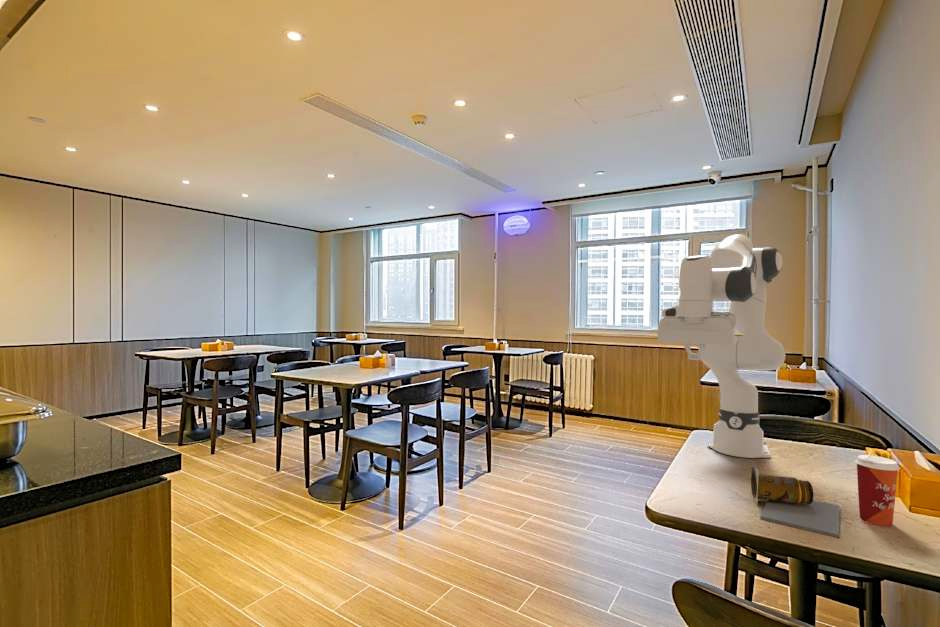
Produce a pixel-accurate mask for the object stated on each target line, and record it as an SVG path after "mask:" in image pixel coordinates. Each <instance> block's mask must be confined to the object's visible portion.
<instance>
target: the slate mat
mask: <svg viewBox="0 0 940 627" xmlns="http://www.w3.org/2000/svg"><path fill="white" fill-rule="evenodd" d="M840 510H841V506H840V505H839V504H835V503H829V502H823V501H819V500H814V499H813V502H812V503H811V504H806V503H799V504H791V503H784V502H775V501H766V502H765V504H764V507H763V510H762V511H761V515H760V520H764V521H768V522H772V523H775V524H776V523H777V524H781V525H785V526H790V527H793V528H797V529H800V530H801V529H802V530H806V531H810V532H815V533H818V534H822V535H827V536H830V537H835V538H839V537H840Z"/></svg>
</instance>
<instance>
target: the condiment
mask: <svg viewBox="0 0 940 627" xmlns="http://www.w3.org/2000/svg"><path fill="white" fill-rule="evenodd" d="M750 470H751V475H750V495H751V498H752V499H753V501H754V502H755V504H756V505H757V506H759V504H758V500H759V501H761V500H762V501H765V502H767V501H775V502H784V503H791V504H799V503H806V504H811V503H812V502H813V500H814V489H813V484H812V483H811V482H810V481H808V480H802V479H797V478H795V477H789V476H779V475H770V474H760V473H759V470H758V469H757V467H756V465H755V464H754V462H753V461H751V469H750Z"/></svg>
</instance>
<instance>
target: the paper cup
mask: <svg viewBox="0 0 940 627" xmlns="http://www.w3.org/2000/svg"><path fill="white" fill-rule="evenodd" d="M854 463H855V464H856V471H857V472H856V474H857V494H858V495H857V496H858V510H859V511H858V512H859V518H861V519H862V520H861V519H860V520H861V521H863V520H864V521H863V522H865V521H866V522H865V523H867V522H868V523H867V524H870V523H871V524H870V525H873V524H874V525H873V526H877V525H879V526H878V527H883V526H890V527H891V525H892V526H893V523H894V514H895V512H894V511H895V502H896V493H897V492H896V491H897V482H898V471H900V469H901V468H900V467H899V465H898V462H897V461H896V460H894V459H891V458H888V457H883V456H879V455H878V456H877V455H871V454H860V455H857V458H856V459H855V461H854Z"/></svg>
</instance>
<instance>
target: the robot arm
mask: <svg viewBox="0 0 940 627" xmlns="http://www.w3.org/2000/svg"><path fill="white" fill-rule="evenodd" d="M782 266H783V257H782V254H781V253H780V250H778V249H777V248H776V247H772V246H771V247H770V246H764V247H755V248H754V244H753V241H752V240H751V239H750V238H749V237H748V236H746V235H744V234H740V233H737V234H733V235H729V236H727V237H725V238H724V239H722V240H721V241H719V243H718V244H717V245H716V246H715V247H714V248H713V250H712V251H711V253H710V256H709V255H706V254H705V255H691V256H686V257H684V258H683V259H682V260H681V263H680V268H679V277H678V288H679V292H680V293H679V294H680V295H679V297H678V305H675V306H672V307H668V308H664V309H663V310H661V317H662V318H661V319H660V320H659V323H658V326H657V332H656V333H657V335H656V336H657V341H658V342H659V343H673V344H684V345H683V346H684V347H683V348H684V349H685V351H686V353H687V355H688V356H687V357H688V359H687V360H692V361H701V362H702V363H703V365H705V366H706V367H707V368H708V369H709V370H711V371H712V373H713V374H714V376H715V378H716V380H717V382H718V386H719V392H720V393H719V394H720V396H719V397H720V398H719V399H720V407H719V408H718V419H719V420H718V421H717V422H715V423H714V424H713V431H712V432H713V433H712V436H713V437H712V442H710V443H708V444H707V446H708V447H707V448H709V447H710V448H709V449H711V448H712V450H714V451H716V452H718V453H721V454H723V455H728V456H732V457H738V458H747V459H749V458H751V459H756V458H759V459H760V458H764V459H765V458H767V459H771V458H772V455H771V452H770V451H769V447H768V445H767V444H766V440H764V430H763V429H762V428H761V427H760V419H761V418H760V412H759V390H758V388H757V387H756V385H755V384H753V383H752V382H750V381H749V380H746V379H745V378H743V377H742V376H741V375H740V373H739V371H740V370H743V371H757V372H758V371H759V372H766V371H769V372H770V371H776V370H779V369H780V368H781V367H782V366H783V364H784V363H785V361H786V350H785V348H784V346H783V345H782V343H781V342H780V341H779V340H776V339H775V338H774V337H772V336H771V335H770V334H769V332H768V331H767V329H766V327H765V320H766V319H765V317H766V308H767V289H766V284H769V283H771V282H772V281H773V279H775V278H776V277H778V275H779V273H780V272H781V270H782ZM765 282H766V284H765ZM713 302H729V304H730V305H729V309H728V311H713V304H714V303H713ZM735 332H736V333H738V334H739V335H742V336H736V335H735V334H736V333H735ZM692 344H694V345H695V344H696V345H697V348H698V351H697V352H696V353H695V352H692V350H691V347H692Z"/></svg>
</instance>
